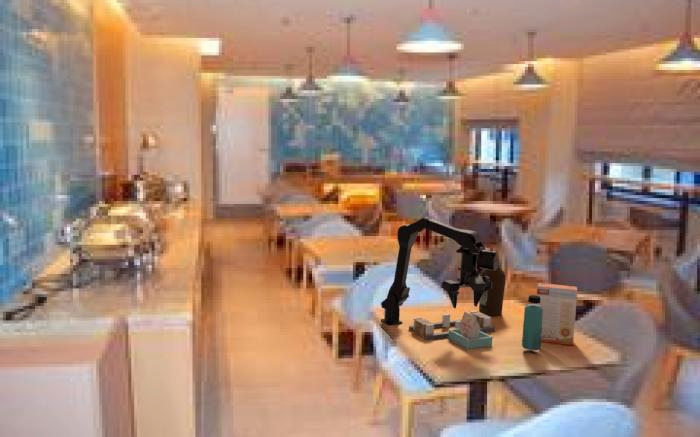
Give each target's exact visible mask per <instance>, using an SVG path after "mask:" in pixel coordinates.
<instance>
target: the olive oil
mask: <svg viewBox="0 0 700 437" xmlns="http://www.w3.org/2000/svg"><path fill="white" fill-rule="evenodd" d="M479 276H482V277H483V276H488V277H489V280H490V281H491V283H492V289H489V290H488V291H486V292H484V293H483V295H482V296H481V298H480V301H479V303H478V312H480V313H483V314H485V315H487V316H489V317H500V316H502V314H503V305H504V296H505V287H506V280H507V278H506V273H505V271H504V270H503V269H502V268H501V266H500V265H499V264H498V268H497V270H496V271H495V270H489V269H483V268H482V269H481V272H480V274H479Z"/></svg>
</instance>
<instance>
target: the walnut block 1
mask: <svg viewBox="0 0 700 437" xmlns="http://www.w3.org/2000/svg"><path fill="white" fill-rule="evenodd" d="M433 323H434V322H431V321H429V320H427V319H426V318H422V319H418V320H415V331H413V332H414V333H415V334H417V335H418V336H420V337H421V338H424V335H426V325H428V324H433Z"/></svg>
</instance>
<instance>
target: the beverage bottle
mask: <svg viewBox="0 0 700 437" xmlns="http://www.w3.org/2000/svg"><path fill="white" fill-rule="evenodd" d="M527 302H528V303H529V304H527V305H526V306H524V313H523V323H522V334H521V336H522V338H521V342H522V343H521V346H522V348H523V349H525V350H528V351H539V350H540V349H541V346H542V341H541V339H542V338H541V334H542V333H541V332H542V324H543V323H542V316H543V309H542V307H541V306H539V305H536V303H540V297H539V296H537V294H536V295H535V294H531V295H530V294H529V295H528V299H527Z"/></svg>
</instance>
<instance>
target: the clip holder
mask: <svg viewBox="0 0 700 437" xmlns="http://www.w3.org/2000/svg"><path fill="white" fill-rule="evenodd" d="M478 312H479V310H478V311H477V310H472V311H469V314H472V313H478ZM418 319H423V318H422V317H420V316H419V317H414V318H413V324H412V325H409V326H408V330H409V331H410V332H414V331H415V320H418ZM441 319H442V321H439V322H432V323H433V324H428V325H426V335H424V337H423V339H424V340H426V341H431V340H432V341H433V340H437V339H438V340H439V339H446V338H445V337H447V338H449V331H445V332H438V333H434V332H435V329H437V328H439V327H440V328H442V327H446V328H450V327H453V326H452V325H455V326H454V329H459V328H460V322H461V320H462V319H454V320H451V314H450V313H446V314H442V318H441ZM480 331H481V332H483V333H491V332H496V326H493V325H492V316H489V317H486V318H484V320H483V327H482V328H480Z"/></svg>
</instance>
